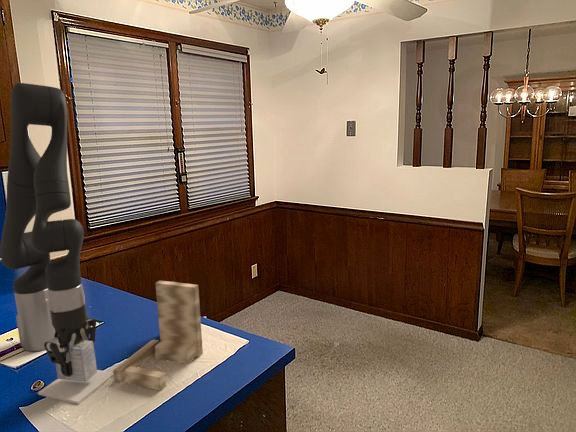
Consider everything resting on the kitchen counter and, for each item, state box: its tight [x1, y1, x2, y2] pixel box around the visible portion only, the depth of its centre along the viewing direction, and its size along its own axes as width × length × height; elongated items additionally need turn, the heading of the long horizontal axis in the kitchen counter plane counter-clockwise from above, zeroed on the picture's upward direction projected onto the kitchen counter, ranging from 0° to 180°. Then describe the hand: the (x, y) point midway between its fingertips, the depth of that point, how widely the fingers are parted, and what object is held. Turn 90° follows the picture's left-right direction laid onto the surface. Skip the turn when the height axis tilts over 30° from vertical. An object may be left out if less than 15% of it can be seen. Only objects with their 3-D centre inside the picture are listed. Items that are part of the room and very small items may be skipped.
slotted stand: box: [112, 280, 204, 392], centre depth 111 cm, size 14×18×20 cm
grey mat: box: [37, 369, 114, 405], centre depth 106 cm, size 12×12×1 cm
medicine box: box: [55, 340, 98, 382], centre depth 105 cm, size 8×4×9 cm, turn 79°
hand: (76, 369), depth 105 cm, fingers closed on medicine box, 4 cm apart
